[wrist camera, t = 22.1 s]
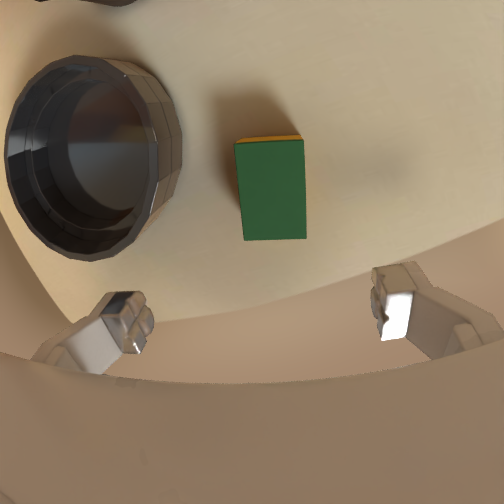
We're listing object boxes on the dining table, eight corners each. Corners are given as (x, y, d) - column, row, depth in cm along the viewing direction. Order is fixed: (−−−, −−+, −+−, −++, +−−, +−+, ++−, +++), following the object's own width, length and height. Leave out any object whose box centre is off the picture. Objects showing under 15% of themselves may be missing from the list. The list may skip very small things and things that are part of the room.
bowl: (224, 171, 22) (207, 192, 18) (100, 259, 28) (73, 288, 23) (121, 25, 16) (84, 13, 12) (23, 141, 22) (-14, 154, 17)
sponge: (303, 220, 24) (306, 239, 21) (249, 222, 24) (243, 241, 21) (300, 134, 20) (303, 140, 17) (241, 138, 21) (233, 143, 18)
